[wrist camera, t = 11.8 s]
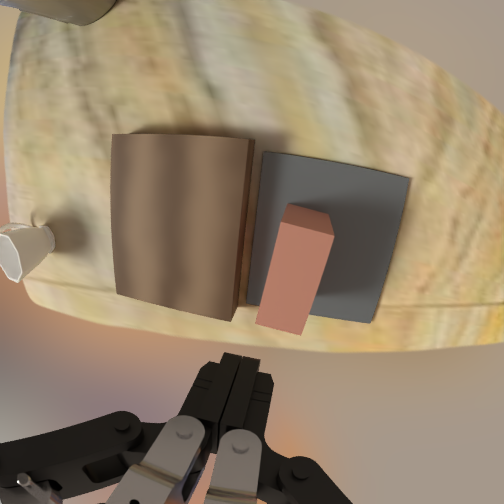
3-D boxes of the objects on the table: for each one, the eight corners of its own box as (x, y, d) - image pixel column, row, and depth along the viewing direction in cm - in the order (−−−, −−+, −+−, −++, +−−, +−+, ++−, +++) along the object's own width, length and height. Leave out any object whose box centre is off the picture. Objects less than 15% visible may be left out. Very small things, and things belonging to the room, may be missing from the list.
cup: (58, 269, 37) (21, 293, 30) (21, 237, 37) (-14, 254, 29) (64, 230, 34) (22, 250, 27) (25, 199, 34) (-14, 213, 27)
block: (255, 323, 24) (300, 335, 24) (280, 221, 21) (334, 236, 21) (266, 286, 31) (303, 296, 30) (287, 203, 27) (328, 214, 27)
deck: (129, 282, 35) (116, 293, 32) (128, 133, 28) (112, 134, 25) (237, 307, 33) (230, 321, 30) (255, 139, 26) (248, 139, 24)
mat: (246, 301, 32) (246, 303, 32) (264, 151, 27) (263, 151, 26) (369, 321, 31) (370, 323, 30) (407, 178, 25) (409, 178, 24)
